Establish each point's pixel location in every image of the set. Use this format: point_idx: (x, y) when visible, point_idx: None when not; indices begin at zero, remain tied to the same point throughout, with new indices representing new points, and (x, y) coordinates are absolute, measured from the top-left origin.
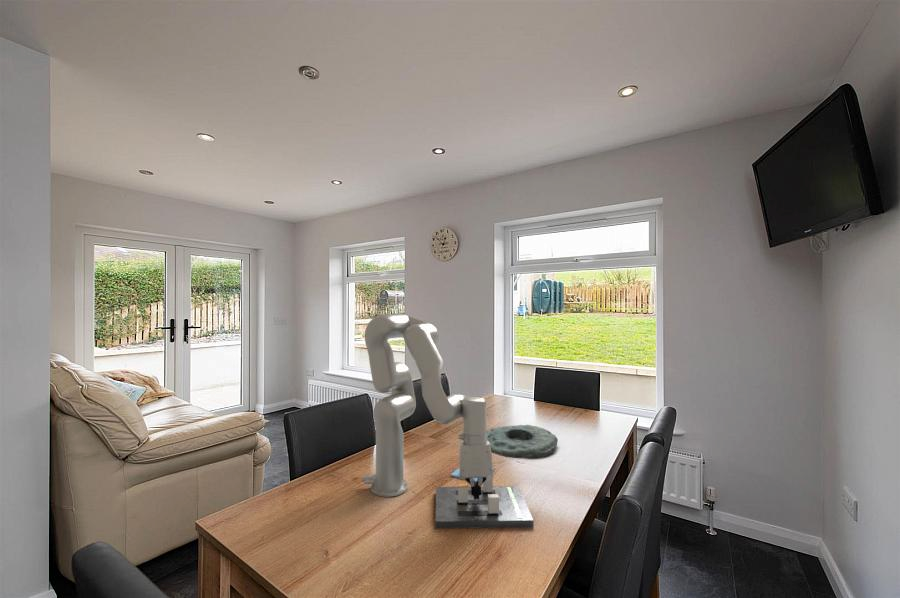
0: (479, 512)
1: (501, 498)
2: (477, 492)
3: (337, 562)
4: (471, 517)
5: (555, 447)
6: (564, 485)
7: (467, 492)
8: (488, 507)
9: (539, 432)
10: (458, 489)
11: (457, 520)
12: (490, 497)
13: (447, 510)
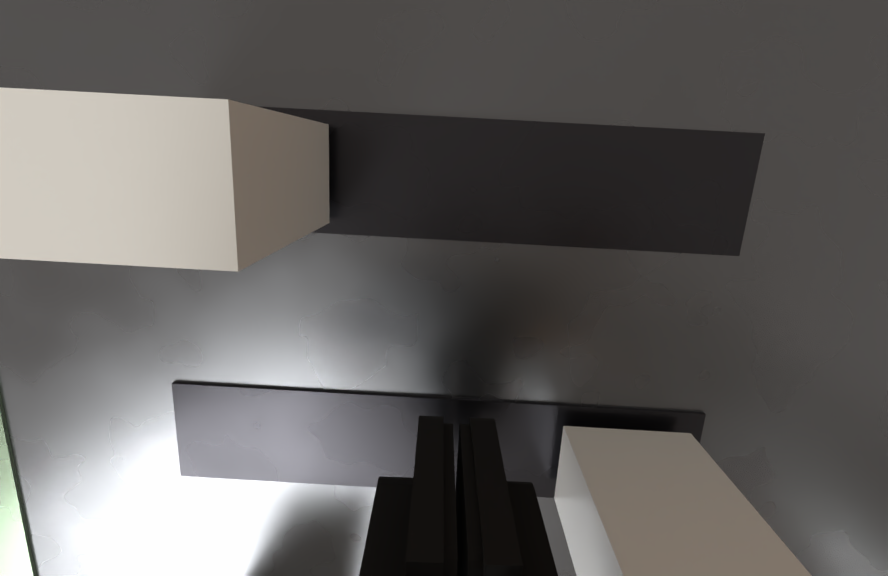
0: (450, 196)
1: (133, 499)
2: (443, 480)
3: None
4: (583, 78)
5: None
6: None
7: (612, 516)
8: (307, 144)
9: None
10: (800, 574)
11: (801, 10)
12: (182, 102)
13: (863, 286)
